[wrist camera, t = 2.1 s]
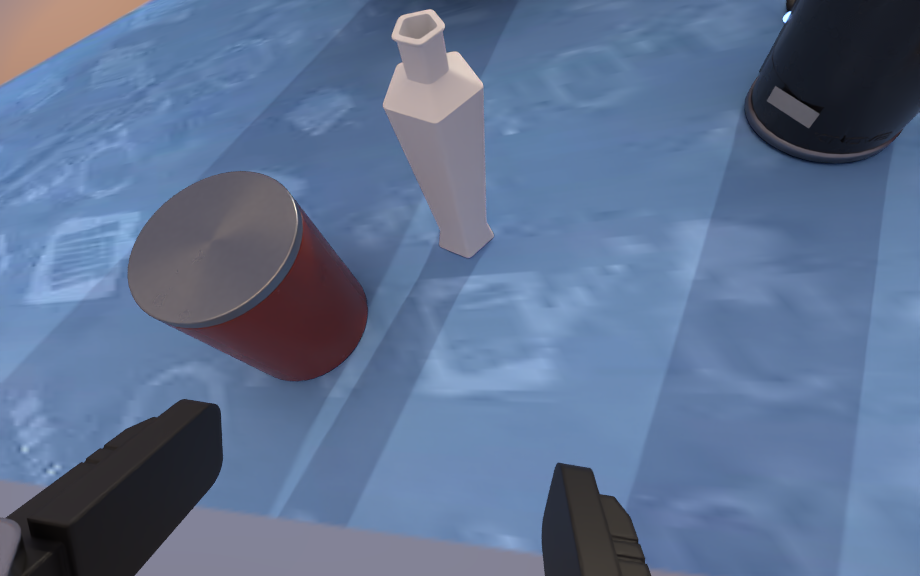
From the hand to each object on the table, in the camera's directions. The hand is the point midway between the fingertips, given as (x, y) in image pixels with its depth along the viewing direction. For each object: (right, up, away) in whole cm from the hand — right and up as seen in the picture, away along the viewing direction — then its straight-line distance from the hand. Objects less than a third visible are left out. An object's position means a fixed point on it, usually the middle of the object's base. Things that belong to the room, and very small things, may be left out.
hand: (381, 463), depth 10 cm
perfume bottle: (+2, +8, +20) cm, 22 cm away
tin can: (-8, +2, +19) cm, 21 cm away
